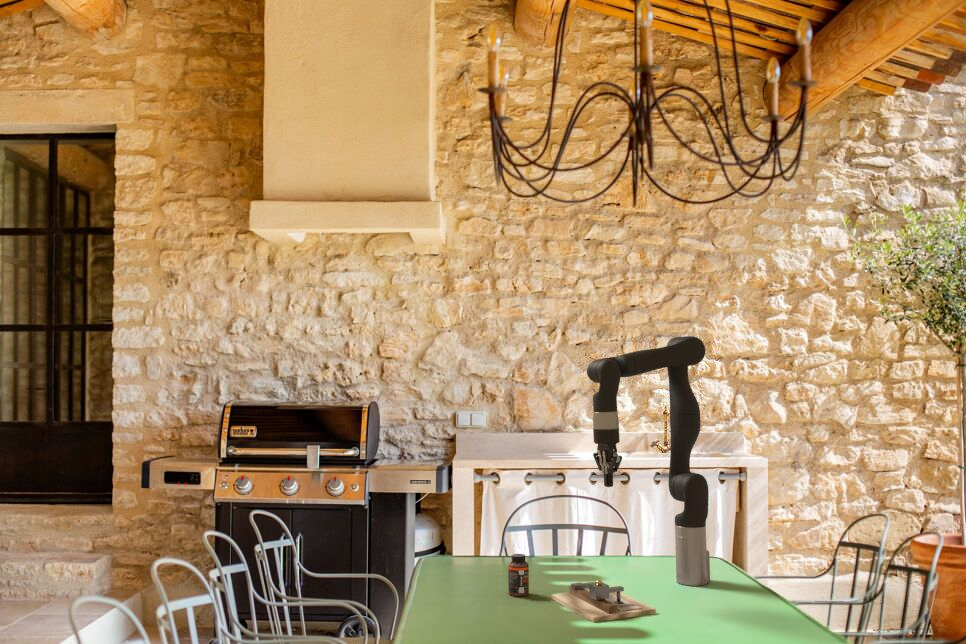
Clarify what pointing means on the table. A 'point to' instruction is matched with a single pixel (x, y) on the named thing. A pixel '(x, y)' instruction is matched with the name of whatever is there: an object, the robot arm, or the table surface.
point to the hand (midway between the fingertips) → (608, 486)
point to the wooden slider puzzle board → (602, 605)
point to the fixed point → (580, 585)
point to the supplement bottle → (518, 576)
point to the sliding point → (603, 590)
